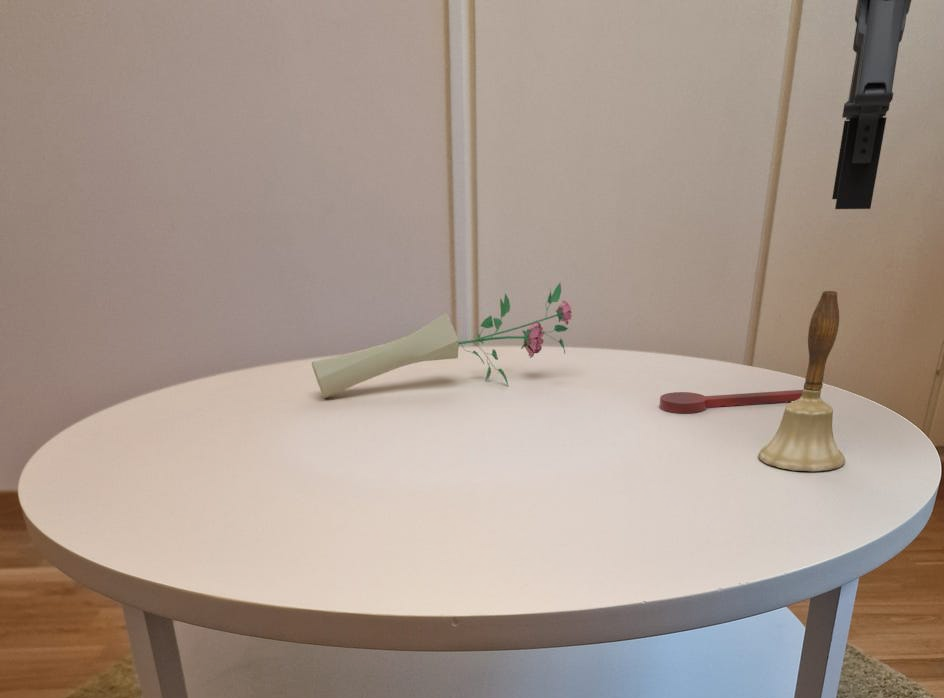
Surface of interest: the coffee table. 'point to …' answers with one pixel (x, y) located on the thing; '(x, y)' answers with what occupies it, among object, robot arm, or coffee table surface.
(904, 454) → the coffee table surface
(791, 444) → the hand bell
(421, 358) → the flower vase
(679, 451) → the coffee table surface
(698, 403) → the spoon
